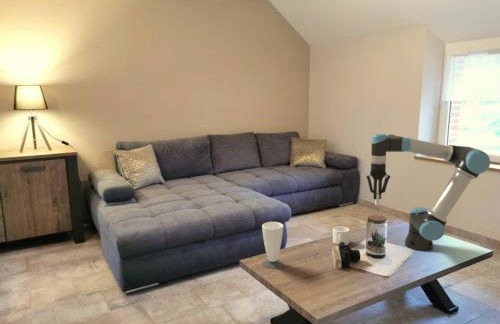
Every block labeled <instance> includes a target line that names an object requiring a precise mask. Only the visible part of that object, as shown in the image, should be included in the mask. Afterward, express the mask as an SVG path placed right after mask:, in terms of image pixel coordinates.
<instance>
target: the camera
mask: <svg viewBox="0 0 500 324" xmlns="http://www.w3.org/2000/svg"><path fill="white" fill-rule="evenodd" d="M338 248H339V252H340V256H341V267H342V268H343V269H350V268H351V267H350V266H351V263H354V262H355V263H358V262H360V261H361V252H360V250H359V249H351V247H350V245H349V244H347V245H345V243H344V242H340V244H339V245H338Z"/></svg>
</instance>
